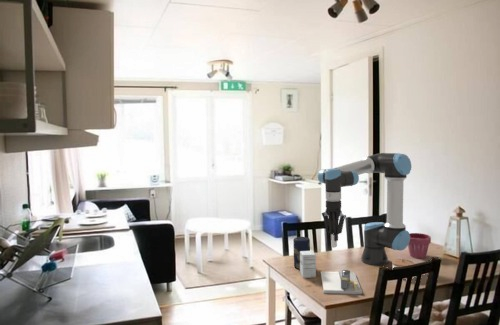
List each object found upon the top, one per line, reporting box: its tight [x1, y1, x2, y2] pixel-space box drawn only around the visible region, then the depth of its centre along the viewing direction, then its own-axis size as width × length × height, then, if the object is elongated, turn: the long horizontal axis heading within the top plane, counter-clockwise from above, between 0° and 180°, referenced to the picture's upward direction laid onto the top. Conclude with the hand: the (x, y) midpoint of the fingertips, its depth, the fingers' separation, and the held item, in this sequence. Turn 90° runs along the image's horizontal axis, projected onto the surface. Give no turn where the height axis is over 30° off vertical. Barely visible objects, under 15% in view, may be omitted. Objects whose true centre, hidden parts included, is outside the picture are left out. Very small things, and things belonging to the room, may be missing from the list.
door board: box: [320, 270, 363, 295], centre depth 203 cm, size 18×26×4 cm
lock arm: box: [341, 269, 351, 289], centre depth 198 cm, size 14×4×5 cm, turn 162°
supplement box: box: [299, 250, 317, 279], centre depth 216 cm, size 7×7×13 cm
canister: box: [293, 236, 311, 270], centre depth 229 cm, size 10×10×18 cm
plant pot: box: [407, 232, 432, 259], centre depth 244 cm, size 14×14×13 cm
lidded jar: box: [391, 258, 415, 269], centre depth 211 cm, size 11×11×9 cm
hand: (334, 246), depth 198 cm, fingers closed
